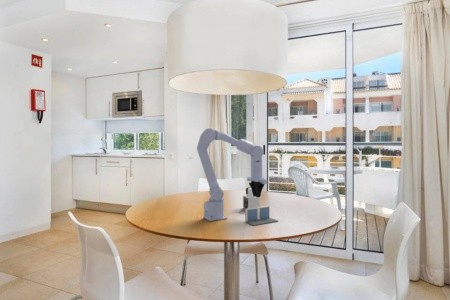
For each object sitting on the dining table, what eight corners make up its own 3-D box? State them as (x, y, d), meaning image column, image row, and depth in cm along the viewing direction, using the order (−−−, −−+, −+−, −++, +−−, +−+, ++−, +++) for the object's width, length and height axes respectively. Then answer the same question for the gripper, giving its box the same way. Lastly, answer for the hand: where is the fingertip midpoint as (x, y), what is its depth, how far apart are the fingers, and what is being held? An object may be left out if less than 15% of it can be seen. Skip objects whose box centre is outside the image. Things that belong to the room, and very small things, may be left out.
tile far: (259, 220, 136) (259, 207, 136) (257, 219, 137) (257, 207, 137) (269, 218, 139) (269, 206, 139) (267, 217, 140) (267, 205, 140)
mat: (253, 225, 126) (253, 225, 126) (245, 222, 132) (245, 221, 132) (278, 221, 133) (278, 220, 133) (269, 218, 139) (269, 217, 139)
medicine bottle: (243, 208, 162) (242, 187, 162) (254, 207, 164) (254, 186, 164) (247, 210, 155) (247, 188, 155) (259, 209, 158) (259, 188, 157)
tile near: (247, 222, 133) (247, 209, 132) (245, 221, 134) (245, 208, 134) (257, 220, 135) (257, 207, 135) (255, 219, 137) (255, 207, 137)
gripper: (272, 170, 138) (272, 198, 138) (254, 168, 151) (255, 193, 151) (260, 171, 135) (260, 199, 135) (243, 168, 147) (243, 195, 148)
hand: (256, 196), depth 143 cm, fingers closed
